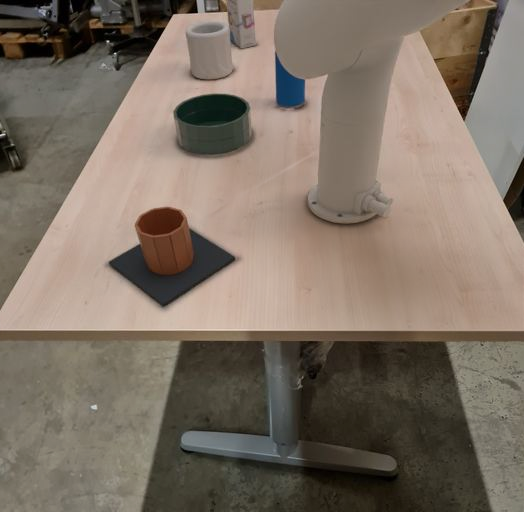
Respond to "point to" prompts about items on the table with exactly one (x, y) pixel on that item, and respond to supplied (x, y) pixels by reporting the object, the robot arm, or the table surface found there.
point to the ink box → (241, 22)
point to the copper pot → (165, 240)
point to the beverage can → (288, 87)
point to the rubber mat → (173, 286)
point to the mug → (209, 49)
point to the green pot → (213, 123)
